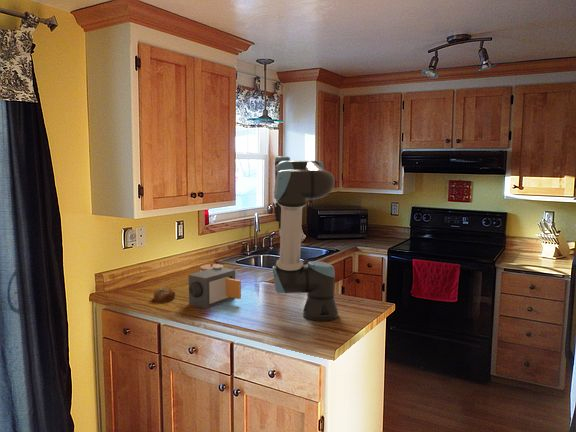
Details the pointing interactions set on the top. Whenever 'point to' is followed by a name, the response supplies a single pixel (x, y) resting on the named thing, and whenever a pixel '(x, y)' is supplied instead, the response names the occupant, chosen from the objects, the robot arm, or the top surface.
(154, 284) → the top surface
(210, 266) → the lidded bowl
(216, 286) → the door
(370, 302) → the top surface
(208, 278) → the box
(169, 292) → the bread roll
